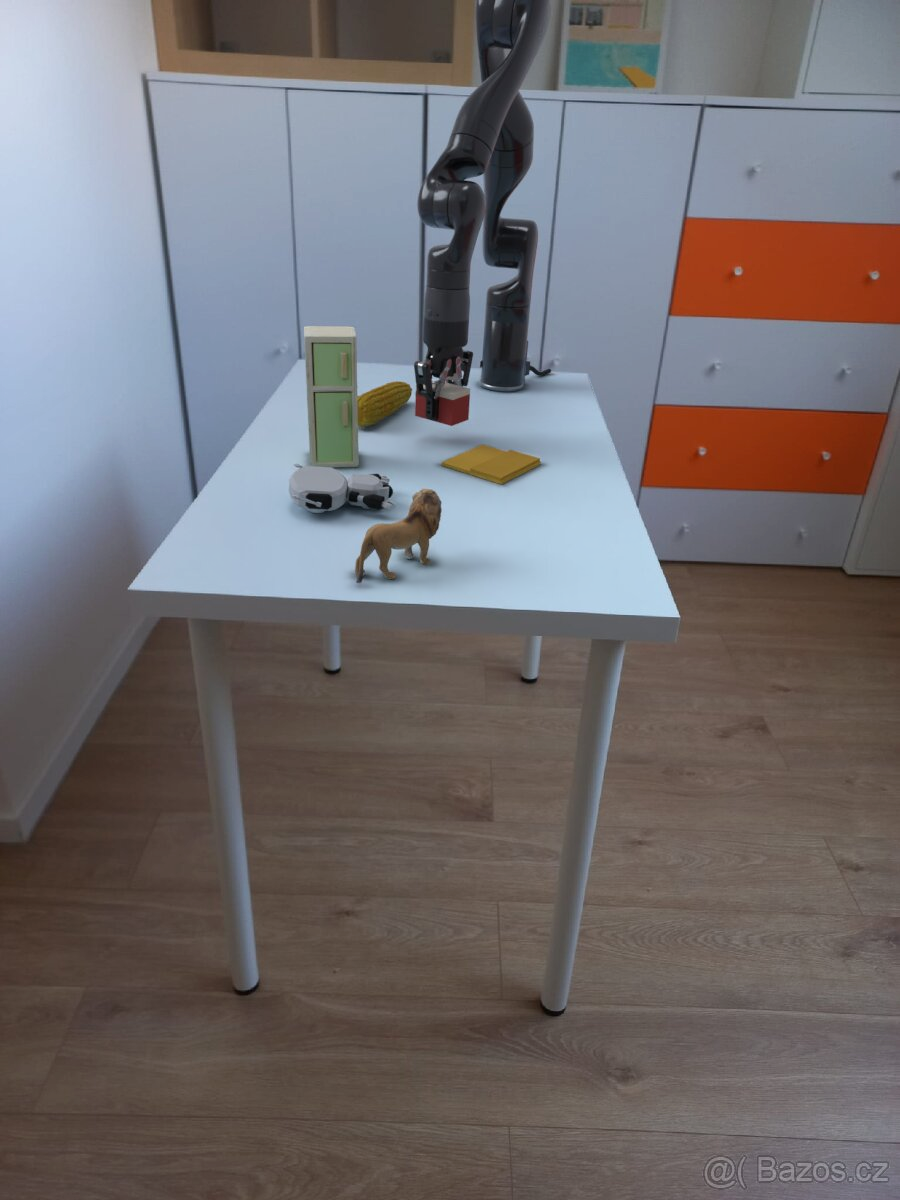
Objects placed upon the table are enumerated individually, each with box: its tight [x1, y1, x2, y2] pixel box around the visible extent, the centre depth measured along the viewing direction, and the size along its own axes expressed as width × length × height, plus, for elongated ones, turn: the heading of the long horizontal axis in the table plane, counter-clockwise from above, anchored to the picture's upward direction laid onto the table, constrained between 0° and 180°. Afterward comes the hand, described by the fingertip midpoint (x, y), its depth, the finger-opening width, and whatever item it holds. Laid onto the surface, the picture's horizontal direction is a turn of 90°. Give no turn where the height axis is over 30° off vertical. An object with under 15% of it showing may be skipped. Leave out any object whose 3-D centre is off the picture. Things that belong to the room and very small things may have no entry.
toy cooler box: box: [414, 381, 471, 427], centre depth 144 cm, size 8×5×6 cm, turn 54°
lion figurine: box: [354, 488, 443, 584], centre depth 104 cm, size 15×5×9 cm, turn 142°
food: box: [357, 380, 413, 428], centre depth 157 cm, size 21×6×6 cm, turn 159°
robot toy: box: [288, 463, 395, 514], centre depth 121 cm, size 12×4×15 cm
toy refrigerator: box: [303, 325, 360, 469], centre depth 131 cm, size 8×7×21 cm
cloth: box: [441, 444, 542, 485], centre depth 138 cm, size 12×12×1 cm
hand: (441, 415), depth 145 cm, fingers closed on toy cooler box, 5 cm apart
